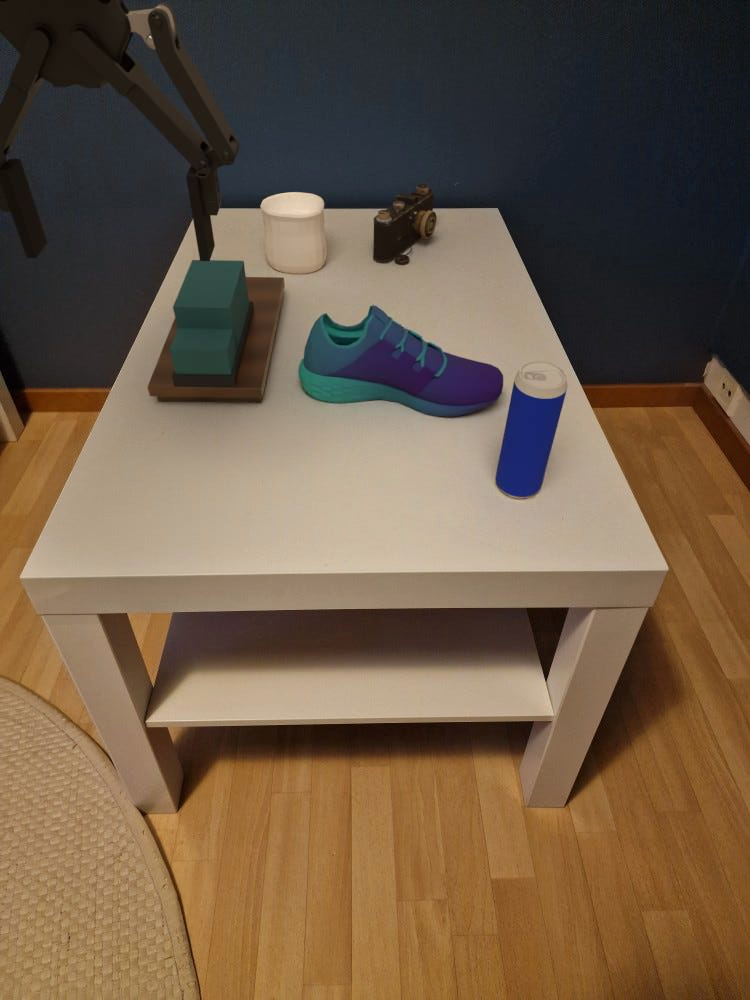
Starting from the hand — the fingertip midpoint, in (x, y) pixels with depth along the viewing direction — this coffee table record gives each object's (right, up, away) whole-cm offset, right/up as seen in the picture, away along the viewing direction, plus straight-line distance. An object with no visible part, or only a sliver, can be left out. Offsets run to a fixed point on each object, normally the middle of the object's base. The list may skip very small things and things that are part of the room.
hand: (122, 252), depth 55 cm
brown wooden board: (-1, +2, +41) cm, 41 cm away
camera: (+26, +24, +63) cm, 72 cm away
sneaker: (+23, -6, +35) cm, 42 cm away
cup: (+7, +19, +58) cm, 62 cm away
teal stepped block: (-1, 0, +35) cm, 35 cm away
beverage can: (+36, -18, +22) cm, 46 cm away
